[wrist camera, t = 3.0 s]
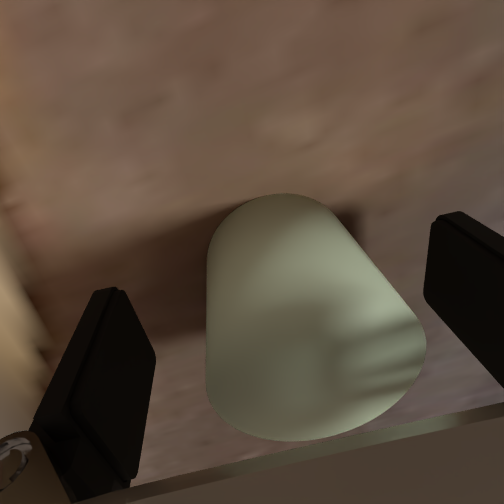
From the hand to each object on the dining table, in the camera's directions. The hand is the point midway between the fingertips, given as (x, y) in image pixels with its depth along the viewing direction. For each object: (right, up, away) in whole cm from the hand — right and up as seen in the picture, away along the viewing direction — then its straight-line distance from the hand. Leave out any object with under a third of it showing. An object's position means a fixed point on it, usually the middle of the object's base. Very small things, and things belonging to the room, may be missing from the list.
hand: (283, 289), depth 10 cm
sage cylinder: (0, +1, +2) cm, 2 cm away
